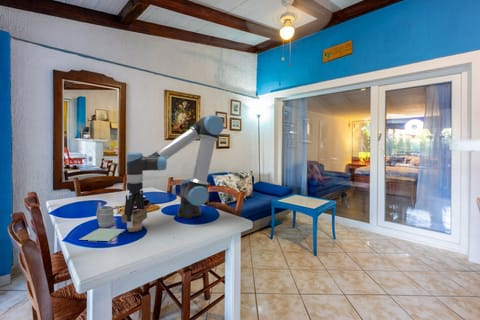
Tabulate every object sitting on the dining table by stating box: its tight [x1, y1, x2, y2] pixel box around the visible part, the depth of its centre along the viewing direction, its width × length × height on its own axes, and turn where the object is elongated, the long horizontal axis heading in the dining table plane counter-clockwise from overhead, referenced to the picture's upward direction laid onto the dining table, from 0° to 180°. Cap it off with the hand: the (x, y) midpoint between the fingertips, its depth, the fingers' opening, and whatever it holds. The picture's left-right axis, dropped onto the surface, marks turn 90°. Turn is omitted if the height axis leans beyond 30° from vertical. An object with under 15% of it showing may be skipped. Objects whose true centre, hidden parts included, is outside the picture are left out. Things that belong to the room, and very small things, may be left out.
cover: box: [121, 209, 148, 224], centre depth 117 cm, size 9×9×5 cm
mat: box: [78, 227, 126, 243], centre depth 109 cm, size 14×14×1 cm
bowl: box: [126, 221, 143, 233], centre depth 117 cm, size 7×7×5 cm
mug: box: [95, 202, 115, 228], centre depth 123 cm, size 8×12×12 cm, turn 66°
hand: (134, 224), depth 117 cm, fingers closed on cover, 9 cm apart
